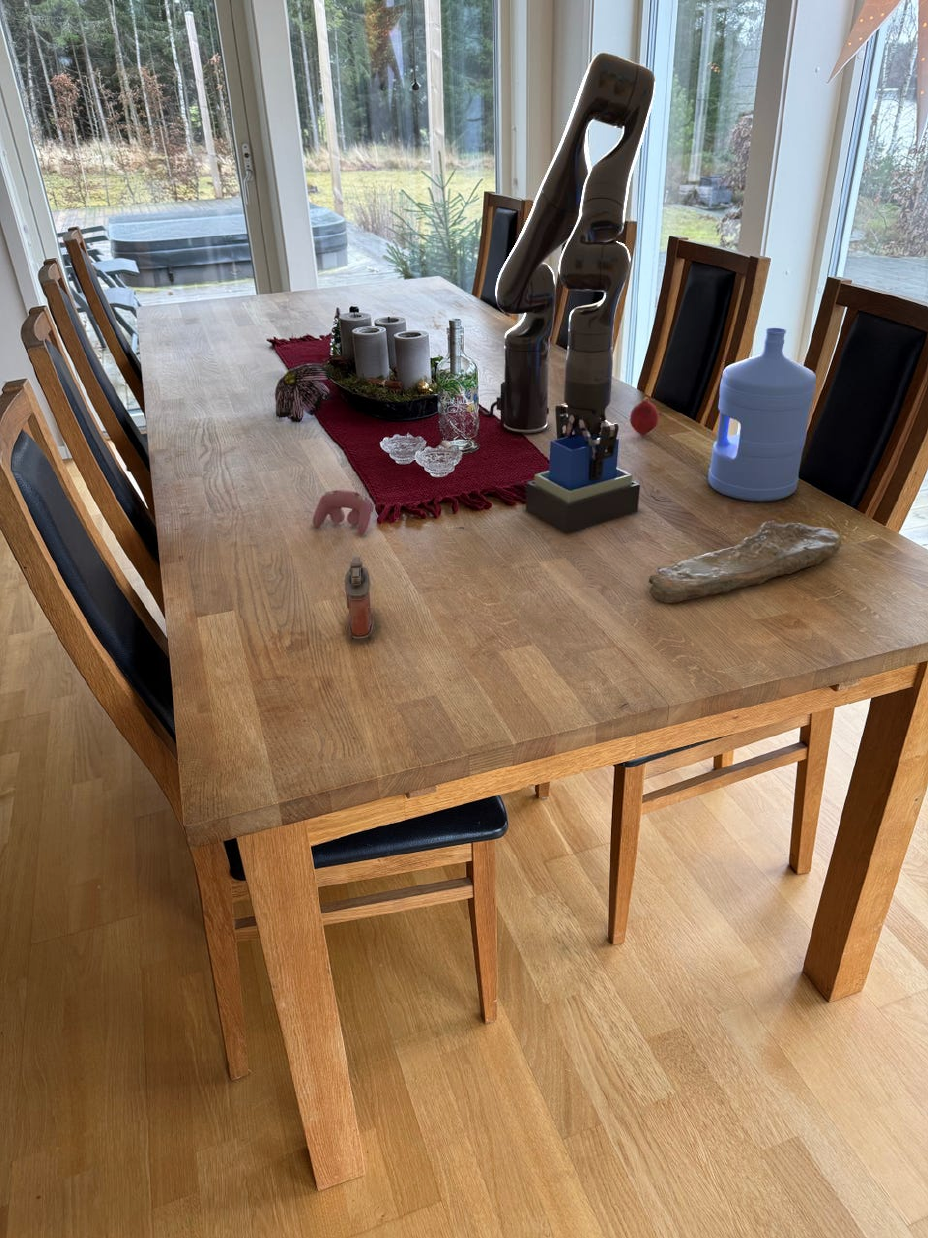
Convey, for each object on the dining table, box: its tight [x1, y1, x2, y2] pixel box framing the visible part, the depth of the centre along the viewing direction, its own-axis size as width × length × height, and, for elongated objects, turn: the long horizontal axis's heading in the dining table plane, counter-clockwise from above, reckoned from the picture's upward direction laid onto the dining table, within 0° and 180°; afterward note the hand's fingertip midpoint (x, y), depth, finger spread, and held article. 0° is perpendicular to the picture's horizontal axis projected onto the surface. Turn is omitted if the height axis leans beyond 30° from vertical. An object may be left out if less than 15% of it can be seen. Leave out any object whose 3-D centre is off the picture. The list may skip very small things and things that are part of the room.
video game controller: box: [312, 489, 375, 535], centre depth 152 cm, size 10×5×7 cm, turn 71°
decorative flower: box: [274, 362, 332, 423], centre depth 202 cm, size 14×12×15 cm
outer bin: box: [525, 480, 641, 535], centre depth 155 cm, size 16×12×5 cm
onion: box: [629, 396, 659, 436], centre depth 186 cm, size 6×6×8 cm
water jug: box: [707, 327, 817, 502], centre depth 157 cm, size 16×16×28 cm
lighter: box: [344, 556, 375, 644], centre depth 122 cm, size 8×3×10 cm, turn 5°
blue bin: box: [548, 435, 620, 491], centre depth 151 cm, size 10×6×7 cm, turn 122°
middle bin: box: [533, 467, 633, 503], centre depth 154 cm, size 14×10×6 cm
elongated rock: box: [648, 519, 842, 604], centre depth 135 cm, size 35×5×10 cm
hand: (582, 472), depth 152 cm, fingers closed on blue bin, 5 cm apart
